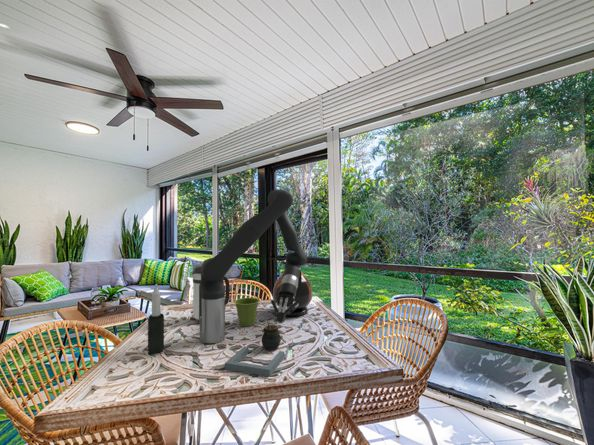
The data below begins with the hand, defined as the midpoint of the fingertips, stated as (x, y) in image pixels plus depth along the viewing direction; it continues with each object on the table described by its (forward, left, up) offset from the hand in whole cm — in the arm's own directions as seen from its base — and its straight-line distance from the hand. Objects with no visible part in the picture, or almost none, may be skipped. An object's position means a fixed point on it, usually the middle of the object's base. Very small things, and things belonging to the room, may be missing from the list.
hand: (279, 322), depth 116 cm
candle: (-40, -25, -7) cm, 47 cm away
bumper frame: (0, -22, -6) cm, 23 cm away
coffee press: (-44, +13, -7) cm, 46 cm away
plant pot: (-21, +11, -7) cm, 25 cm away
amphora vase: (-6, +35, -7) cm, 36 cm away
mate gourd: (0, -10, -7) cm, 12 cm away
